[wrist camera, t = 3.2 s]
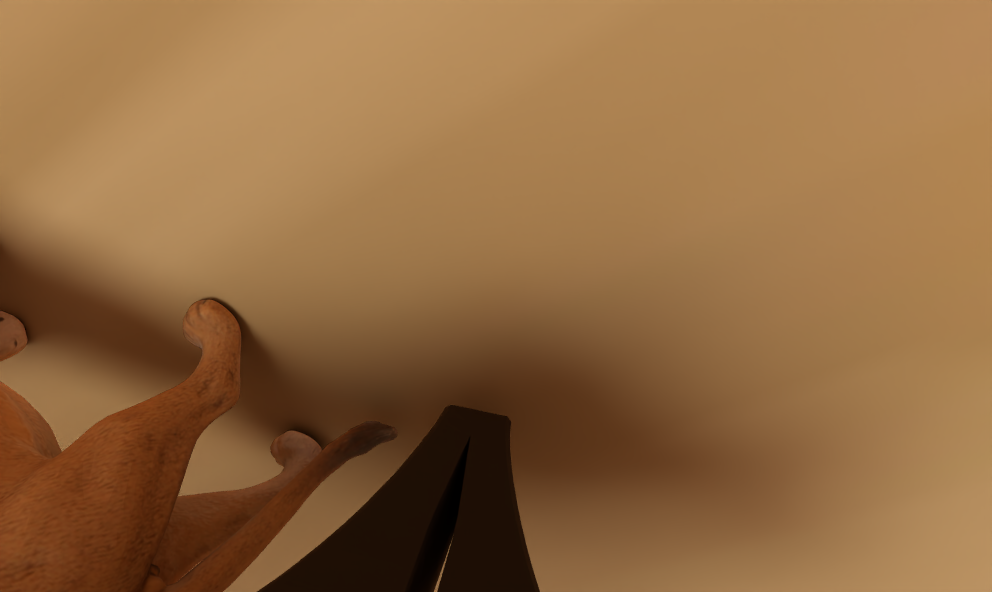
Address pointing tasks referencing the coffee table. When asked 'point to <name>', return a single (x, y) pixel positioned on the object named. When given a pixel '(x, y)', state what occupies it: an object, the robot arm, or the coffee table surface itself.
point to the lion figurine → (147, 483)
